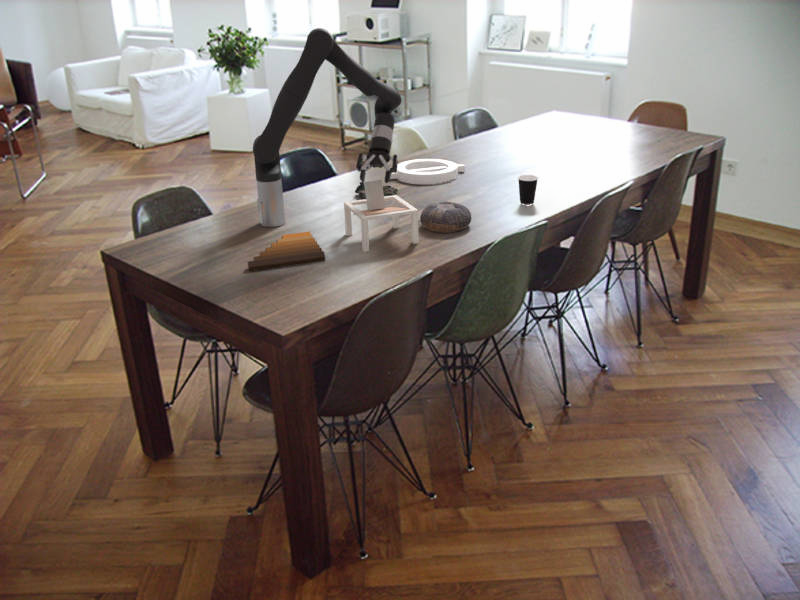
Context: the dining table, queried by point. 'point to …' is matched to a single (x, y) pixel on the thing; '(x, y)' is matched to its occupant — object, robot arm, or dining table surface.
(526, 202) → the glass of dark beer
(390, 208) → the trapdoor
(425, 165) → the ring with crossbar
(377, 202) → the grey upright block
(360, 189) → the decorative rock
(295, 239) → the pan flute
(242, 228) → the dining table surface
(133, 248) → the dining table surface
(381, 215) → the white four-legged frame
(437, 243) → the dining table surface
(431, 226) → the sea urchin shell
